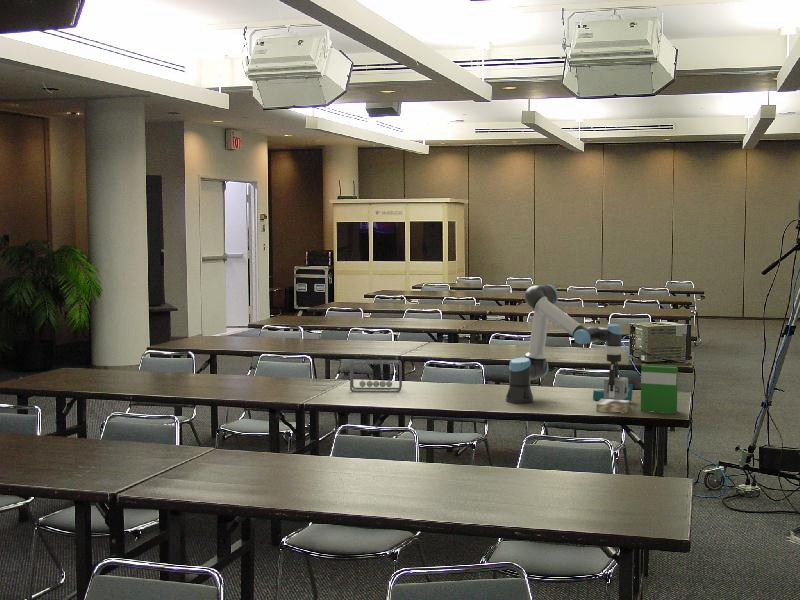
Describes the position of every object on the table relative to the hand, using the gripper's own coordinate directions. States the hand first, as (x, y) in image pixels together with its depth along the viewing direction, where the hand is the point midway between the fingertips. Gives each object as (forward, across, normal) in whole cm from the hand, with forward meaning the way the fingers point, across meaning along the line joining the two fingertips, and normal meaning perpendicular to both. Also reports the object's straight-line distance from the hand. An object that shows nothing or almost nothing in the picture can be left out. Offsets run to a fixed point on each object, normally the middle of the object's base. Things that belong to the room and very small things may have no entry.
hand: (613, 395), depth 493 cm
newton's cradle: (+8, +7, +139) cm, 139 cm away
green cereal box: (+8, +4, -23) cm, 25 cm away
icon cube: (+1, 0, -1) cm, 2 cm away
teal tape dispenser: (+8, +23, +4) cm, 25 cm away
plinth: (+8, 0, 0) cm, 8 cm away
